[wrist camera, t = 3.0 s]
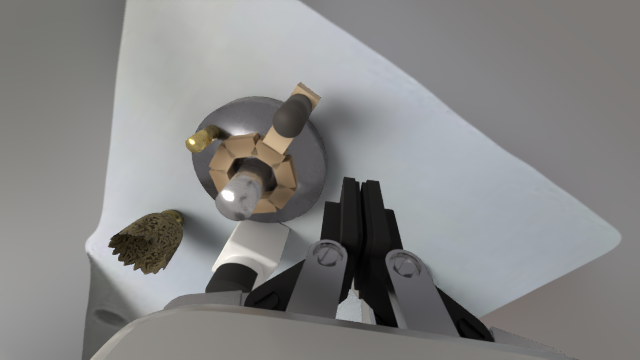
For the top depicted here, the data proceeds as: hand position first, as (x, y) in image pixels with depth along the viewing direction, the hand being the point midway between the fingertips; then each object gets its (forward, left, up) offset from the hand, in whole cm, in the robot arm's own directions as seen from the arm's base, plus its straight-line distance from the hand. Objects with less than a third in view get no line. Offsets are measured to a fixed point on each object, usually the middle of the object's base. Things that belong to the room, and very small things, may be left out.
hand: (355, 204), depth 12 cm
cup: (-5, +32, -18) cm, 37 cm away
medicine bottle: (-12, +20, -18) cm, 30 cm away
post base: (-2, +13, -18) cm, 22 cm away
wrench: (0, +10, -15) cm, 17 cm away
